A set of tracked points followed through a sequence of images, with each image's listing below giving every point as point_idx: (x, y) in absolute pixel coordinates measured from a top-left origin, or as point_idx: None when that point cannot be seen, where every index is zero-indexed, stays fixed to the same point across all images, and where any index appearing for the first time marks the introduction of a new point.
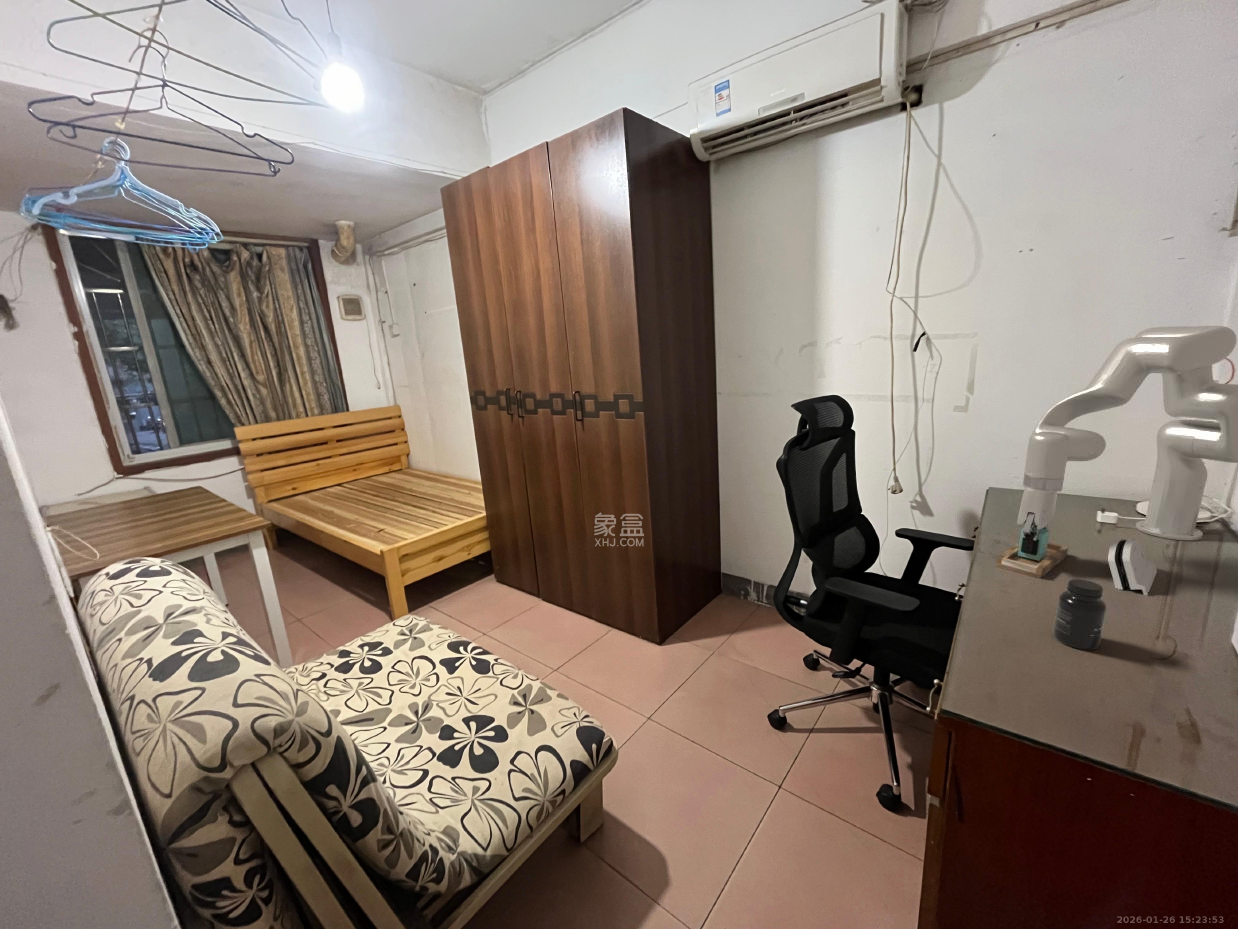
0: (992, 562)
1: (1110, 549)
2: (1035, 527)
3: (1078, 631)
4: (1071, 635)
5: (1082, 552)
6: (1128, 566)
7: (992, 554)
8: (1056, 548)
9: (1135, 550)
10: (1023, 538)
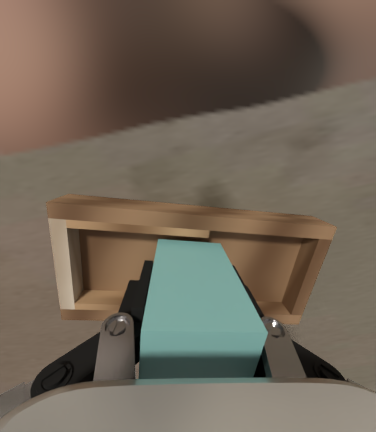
0: (94, 176)
1: None
2: (247, 365)
3: None
4: None
5: (322, 318)
6: None
7: (170, 157)
8: (289, 298)
9: None
10: (133, 305)
